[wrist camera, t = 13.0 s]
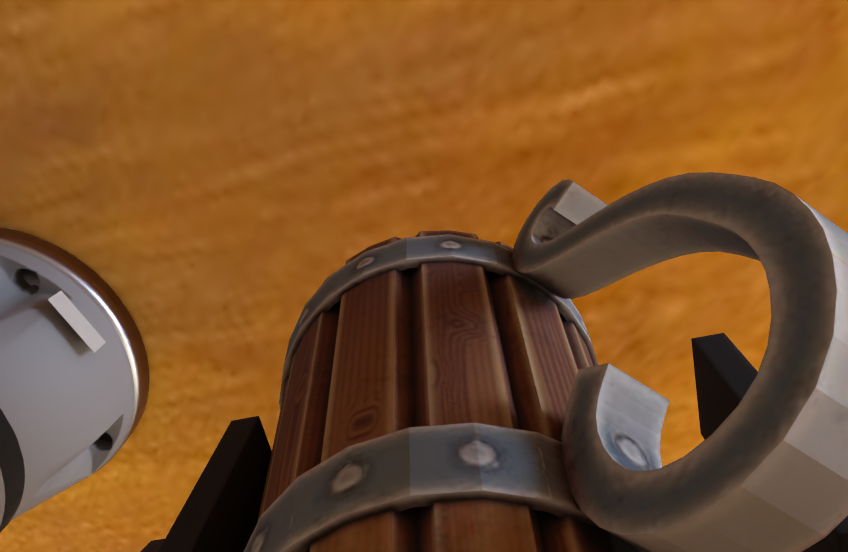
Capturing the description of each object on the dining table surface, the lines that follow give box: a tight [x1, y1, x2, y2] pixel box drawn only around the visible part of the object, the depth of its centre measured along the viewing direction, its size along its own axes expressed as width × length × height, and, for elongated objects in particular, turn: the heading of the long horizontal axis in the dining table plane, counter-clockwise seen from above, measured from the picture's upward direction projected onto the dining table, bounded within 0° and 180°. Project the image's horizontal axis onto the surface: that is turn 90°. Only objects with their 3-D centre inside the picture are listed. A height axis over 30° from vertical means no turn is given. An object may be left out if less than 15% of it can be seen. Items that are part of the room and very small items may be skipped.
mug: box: [244, 172, 848, 552], centre depth 16 cm, size 16×11×15 cm
